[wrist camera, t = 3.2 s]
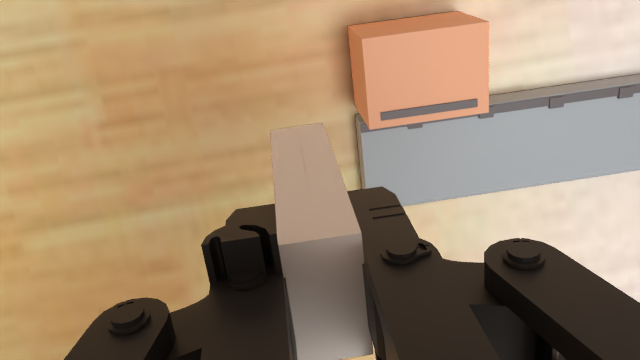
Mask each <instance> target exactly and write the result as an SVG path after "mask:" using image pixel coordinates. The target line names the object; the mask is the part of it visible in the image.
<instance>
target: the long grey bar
mask: <svg viewBox="0 0 640 360" xmlns="http://www.w3.org/2000/svg"><path fill="white" fill-rule="evenodd" d="M355 118H356V129H357V139H358V150H359V160H360V171H361V182H362V189H367V188H374V187H381V186H383V187H384V188H386V189H388V190H389V191H391V192H393V193H395V194H396V196H397V198H398V200H399V202H400V203H401V206H408V205H414V204H421V203H427V202H434V201H440V200H447V199H454V198H460V197H467V196H473V195H480V194H486V193H493V192H499V191H506V190H513V189H519V188H526V187H532V186H539V185H545V184H552V183H559V182H565V181H572V180H578V179H585V178H591V177H598V176H604V175H611V174H618V173H624V172H631V171H637V170H640V74H636V75H629V76H622V77H615V78H608V79H601V80H594V81H587V82H580V83H573V84H566V85H559V86H553V87H546V88H539V89H532V90H525V91H518V92H511V93H504V94H497V95H490V96H489V113H482V114H475V115H468V116H461V117H454V118H447V119H441V120H434V121H427V122H420V123H413V124H406V125H399V126H392V127H385V128H378V129H371V130H369V128H368V126H367V125H366V123H365V121H364V120H363V118H362V117H361V115H360V114H357V115H355Z"/></svg>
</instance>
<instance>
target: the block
mask: <svg viewBox="0 0 640 360" xmlns="http://www.w3.org/2000/svg"><path fill="white" fill-rule="evenodd" d="M348 37H349V47H350V58H351V68H352V79H353V89H354V100H355V107H356V108H357V110H358V112H359V113H360V115H361V117H362V118H363V120H364V121H365V123H366V125H367V126H368V128H369V130H371V129H378V128H385V127H392V126H399V125H406V124H413V123H420V122H427V121H434V120H441V119H447V118H454V117H461V116H468V115H475V114H482V113H489V22H488V21H485V20H482V19H480V18H477V17H474V16H471V15H468V14H465V13H462V12H459V11H455V12H448V13H440V14H433V15H425V16H418V17H411V18H403V19H396V20H388V21H381V22H374V23H366V24H359V25H351V26H348Z"/></svg>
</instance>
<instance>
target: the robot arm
mask: <svg viewBox="0 0 640 360" xmlns="http://www.w3.org/2000/svg"><path fill="white" fill-rule="evenodd" d="M270 135H271V151H272V166H273V181H274V197H275V204H270V205H263V206H256V207H249V208H242V209H236V210H235V211H234V212H233V213H232V214H231V216H230V217H229V218H228V219H227V220H226V226H224V227H222V228H219V229H217V230H215V231H213V232H212V233H211V234H209V235H208V236H207V237H206V238H205V239H204V241H203V243H202V245H201V246H202V250H203V255H204V259H205V264H206V268H207V272H208V277H209V281H210V291H209V295H208V296H207V297H205V298H204V299H202V300H200V301H199V302H197V303H195V304H192V305H190V306H188V307H185V308H182V309H180V310H177V311H174V312H171V313H169V310H168V307H167V305H166V304H165V303H164V302H162V301H160V300H158V299H152V298H139V299H131V300H127V301H125V302H121V303H119V304H116V305H115V306H113V307H111V308H110V309H108V310H106V311H104V312H103V313H102V314H101V315H100V316H99V317H98V318H96V319H95V320H94V321H93V323H92V324H91V325H90V326H89V328H88V329H87V330H86V332H85V333H84V334H83V335H82V337H81V338H80V339H79V341H78V342H77V343H76V345H75V346H74V347H73V348H72V350H71V351H70V352H69V354H68V355H67V356H66V357H65V359H64V360H340V359H346V358H352V357H359V356H365V355H371V354H373V346H372V341H373V345H374V348H375V355H376V360H640V303H639V302H637V301H636V300H634V299H633V298H631V297H630V296H628V295H627V294H625V293H624V292H622V291H621V290H619V289H617V288H616V287H614V286H613V285H611V284H610V283H608V282H607V281H605V280H604V279H602V278H601V277H599V276H597V275H596V274H594V273H593V272H591V271H590V270H588V269H587V268H585V267H584V266H582V265H581V264H579V263H578V262H576V261H574V260H573V259H571V258H570V257H568V256H567V255H565V254H564V253H562V252H561V251H559V250H558V249H556V248H554V247H552V246H550V245H548V244H546V243H543V242H540V241H535V240H531V239H525V238H521V239H520V238H515V239H509V240H504V241H499V242H497V243H495V244H493V245H491V246H489V248H488V249H487V250H486V251H485V252H484V263H473V262H457V261H450V260H446V259H442V257H441V255H440V253H439V251H438V250H437V249H436V248H435V247H434V246H433V245H432V244H431V243H430V242H427V241H425V240H423V239H420V238H419V237H418V235H417V233H416V231H415V230H414V228H413V226H412V224H411V222H410V220H409V218H408V216H407V215H406V213H405V211H404V209H403V207H402V206H401V203H400V202H399V200H398V198H397V196H396V194H395V193H393V192H391V191H389V190H388V189H386V188H384V187H383V186H381V187H374V188H367V189H360V190H354V191H347V190H346V187H345V184H344V182H343V179H342V176H341V173H340V170H339V167H338V164H337V162H336V159H335V156H334V153H333V150H332V147H331V144H330V142H329V139H328V136H327V133H326V130H325V127H324V125H323V123H316V124H309V125H302V126H295V127H288V128H281V129H274V130H270ZM559 353H560V354H559Z"/></svg>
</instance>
